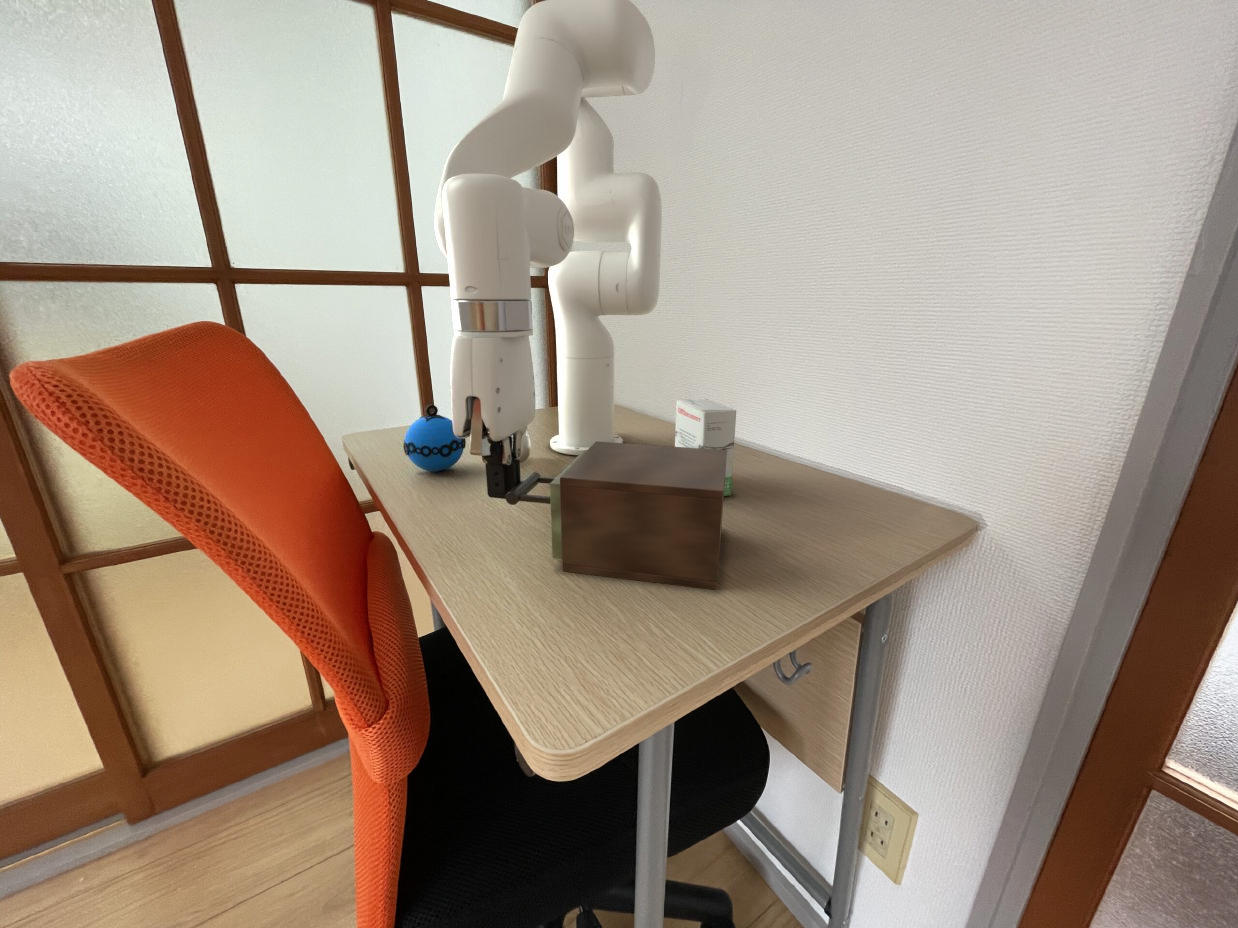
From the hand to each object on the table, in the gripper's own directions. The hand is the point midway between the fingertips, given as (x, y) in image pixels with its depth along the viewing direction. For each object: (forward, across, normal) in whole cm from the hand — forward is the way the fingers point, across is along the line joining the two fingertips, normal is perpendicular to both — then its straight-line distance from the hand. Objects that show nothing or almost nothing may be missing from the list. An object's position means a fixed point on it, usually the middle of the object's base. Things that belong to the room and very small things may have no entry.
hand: (504, 495), depth 57 cm
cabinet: (+5, 0, +16) cm, 16 cm away
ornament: (+5, -17, -20) cm, 27 cm away
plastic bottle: (+5, -24, -11) cm, 27 cm away
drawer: (+4, 0, +11) cm, 12 cm away
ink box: (+5, -21, +19) cm, 29 cm away
